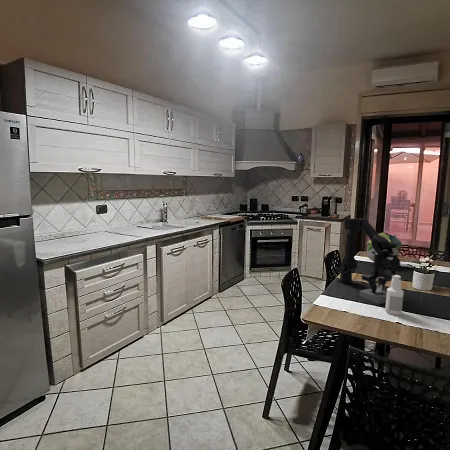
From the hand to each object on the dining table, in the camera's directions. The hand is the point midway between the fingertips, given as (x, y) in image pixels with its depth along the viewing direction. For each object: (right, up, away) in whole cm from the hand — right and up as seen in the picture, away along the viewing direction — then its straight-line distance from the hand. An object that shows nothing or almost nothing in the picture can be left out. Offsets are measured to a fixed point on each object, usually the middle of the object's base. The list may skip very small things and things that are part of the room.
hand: (377, 291), depth 165 cm
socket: (0, -3, +1) cm, 4 cm away
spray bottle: (-1, -6, -17) cm, 18 cm away
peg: (0, -4, +1) cm, 4 cm away
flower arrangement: (+35, +5, +65) cm, 74 cm away
